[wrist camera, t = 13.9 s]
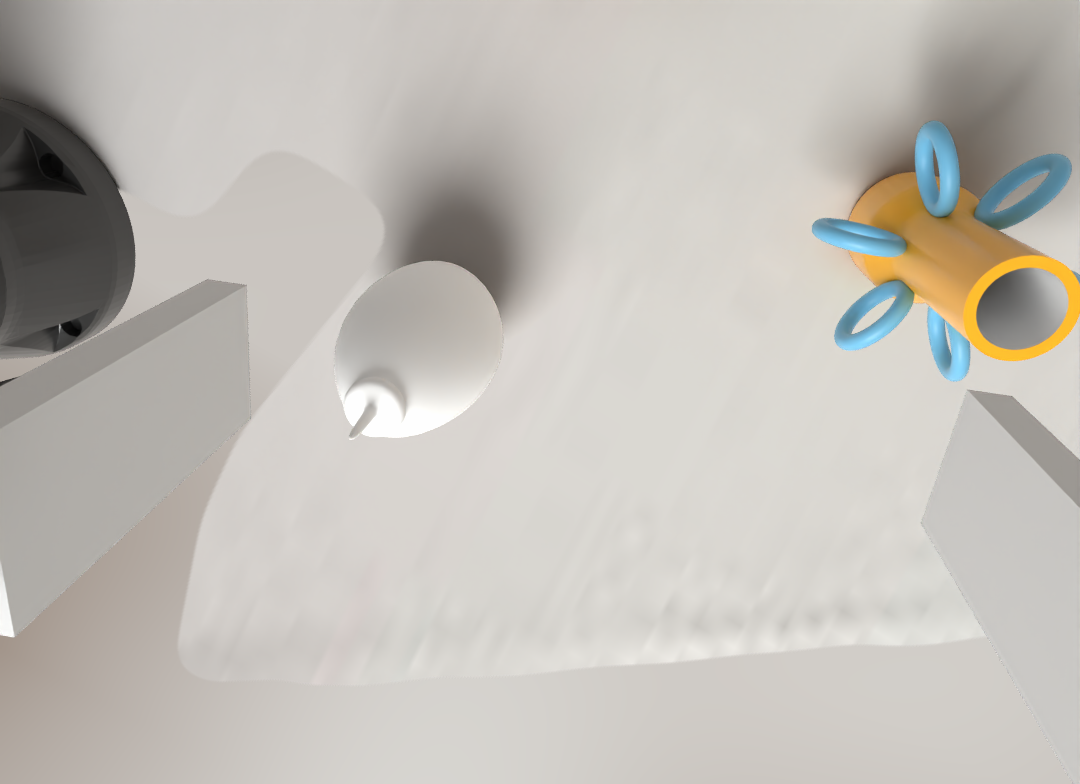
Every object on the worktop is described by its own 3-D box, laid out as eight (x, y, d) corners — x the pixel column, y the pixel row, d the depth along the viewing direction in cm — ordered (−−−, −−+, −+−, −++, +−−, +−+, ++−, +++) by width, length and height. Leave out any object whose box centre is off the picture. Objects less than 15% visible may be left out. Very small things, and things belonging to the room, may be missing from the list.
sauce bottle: (474, 217, 46) (377, 309, 30) (540, 334, 48) (485, 481, 32) (362, 278, 48) (214, 396, 32) (431, 388, 50) (326, 552, 34)
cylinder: (936, 65, 40) (1087, 72, 27) (1065, 212, 42) (1268, 290, 28) (748, 241, 45) (793, 325, 31) (872, 367, 47) (967, 499, 33)
